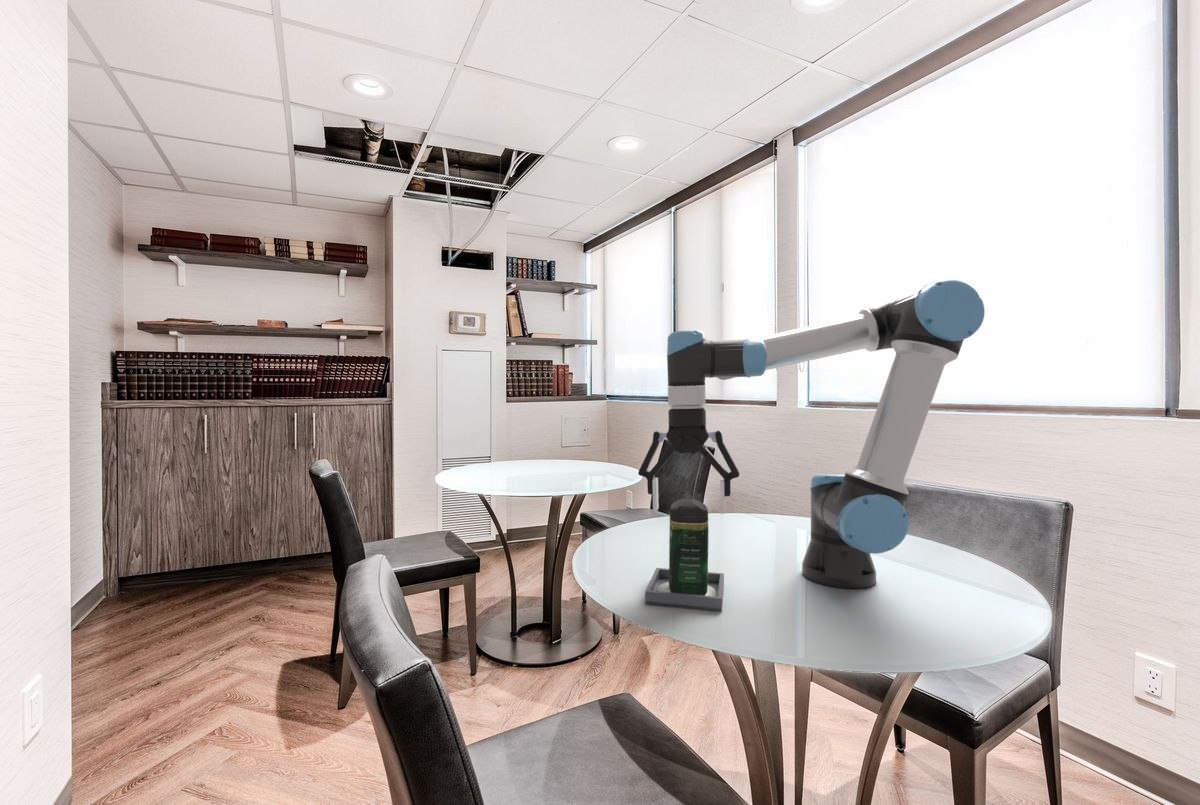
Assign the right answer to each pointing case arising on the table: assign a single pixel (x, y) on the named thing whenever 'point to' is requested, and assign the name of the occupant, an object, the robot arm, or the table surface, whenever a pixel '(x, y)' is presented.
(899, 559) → the table surface
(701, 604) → the cradle tray
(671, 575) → the coffee jar
